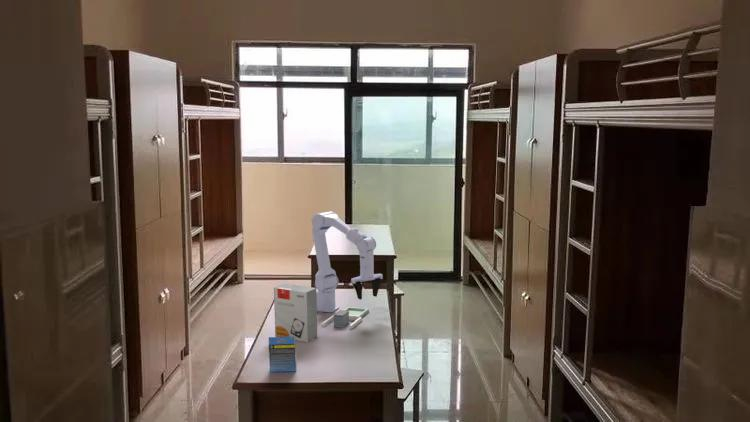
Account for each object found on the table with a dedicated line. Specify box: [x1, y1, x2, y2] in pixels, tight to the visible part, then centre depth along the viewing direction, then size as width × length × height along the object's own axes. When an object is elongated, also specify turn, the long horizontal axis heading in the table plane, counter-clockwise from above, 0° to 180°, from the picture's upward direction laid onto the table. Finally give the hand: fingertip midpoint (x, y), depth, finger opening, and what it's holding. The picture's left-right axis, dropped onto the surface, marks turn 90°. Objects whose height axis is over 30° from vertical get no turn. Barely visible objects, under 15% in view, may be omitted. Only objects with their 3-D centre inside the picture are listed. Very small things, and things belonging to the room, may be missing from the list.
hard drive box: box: [273, 283, 318, 343], centre depth 256 cm, size 16×8×20 cm, turn 62°
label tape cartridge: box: [268, 336, 297, 373], centre depth 222 cm, size 9×4×12 cm, turn 92°
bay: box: [321, 314, 363, 330], centre depth 274 cm, size 13×12×2 cm
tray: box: [343, 306, 370, 318], centre depth 286 cm, size 10×12×2 cm
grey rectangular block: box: [333, 309, 350, 328], centre depth 272 cm, size 4×7×5 cm, turn 161°
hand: (367, 297), depth 279 cm, fingers open, 7 cm apart
